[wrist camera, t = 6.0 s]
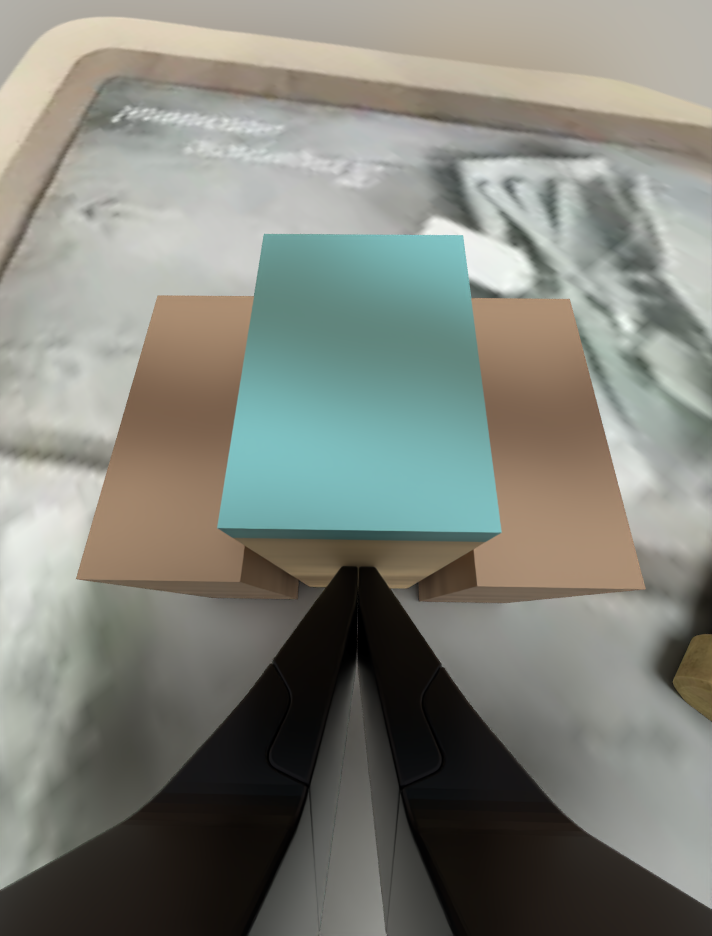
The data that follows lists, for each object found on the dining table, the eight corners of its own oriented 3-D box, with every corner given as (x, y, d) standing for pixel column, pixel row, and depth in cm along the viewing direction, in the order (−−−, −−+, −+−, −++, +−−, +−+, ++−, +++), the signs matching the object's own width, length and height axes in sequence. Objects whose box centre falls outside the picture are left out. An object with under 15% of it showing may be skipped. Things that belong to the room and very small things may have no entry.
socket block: (504, 603, 15) (645, 589, 8) (212, 597, 15) (76, 578, 8) (483, 429, 18) (569, 298, 11) (239, 426, 18) (157, 295, 11)
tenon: (406, 588, 15) (501, 533, 5) (310, 586, 15) (217, 528, 5) (402, 455, 18) (462, 235, 7) (318, 454, 18) (264, 234, 7)
